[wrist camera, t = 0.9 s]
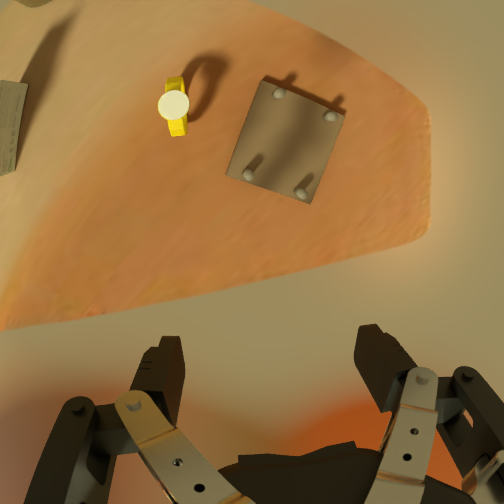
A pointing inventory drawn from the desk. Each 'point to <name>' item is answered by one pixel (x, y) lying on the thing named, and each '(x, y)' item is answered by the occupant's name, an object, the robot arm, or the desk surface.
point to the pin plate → (284, 143)
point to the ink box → (10, 122)
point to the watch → (175, 106)
